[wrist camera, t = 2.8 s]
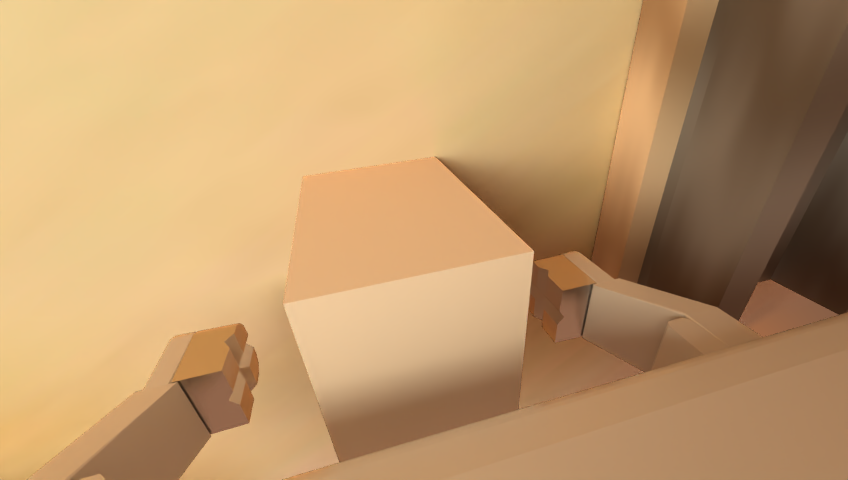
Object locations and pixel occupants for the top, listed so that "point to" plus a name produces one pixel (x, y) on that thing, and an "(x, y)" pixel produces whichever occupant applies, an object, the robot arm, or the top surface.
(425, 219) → the block
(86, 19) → the top surface
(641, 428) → the robot arm
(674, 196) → the rail board
